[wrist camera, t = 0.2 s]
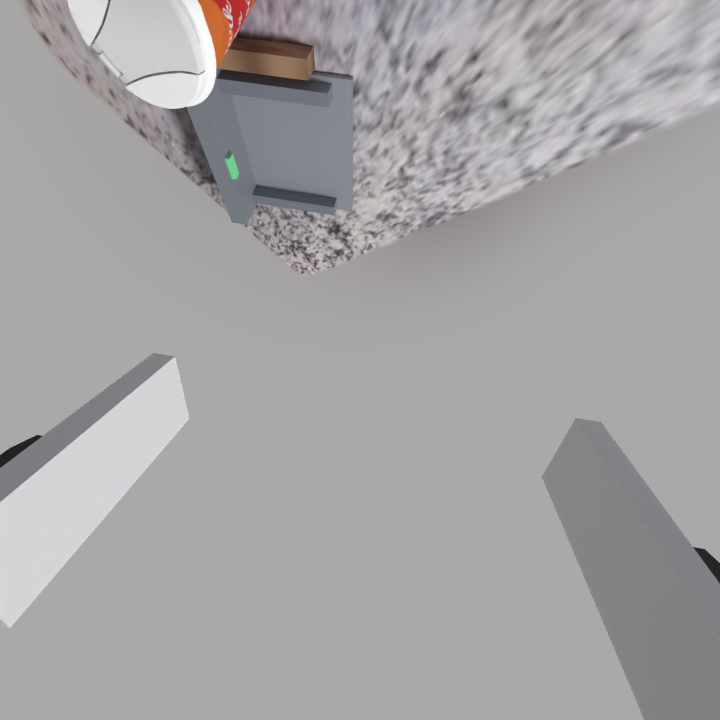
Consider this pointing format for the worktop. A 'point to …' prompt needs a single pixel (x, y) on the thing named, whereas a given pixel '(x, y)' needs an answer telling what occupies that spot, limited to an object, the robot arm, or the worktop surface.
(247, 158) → the port dock
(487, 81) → the worktop surface
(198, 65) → the coffee cup
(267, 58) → the wooden u-shaped frame
